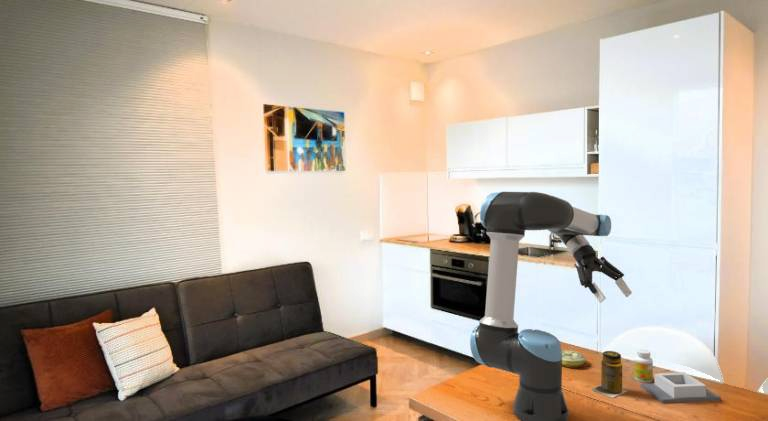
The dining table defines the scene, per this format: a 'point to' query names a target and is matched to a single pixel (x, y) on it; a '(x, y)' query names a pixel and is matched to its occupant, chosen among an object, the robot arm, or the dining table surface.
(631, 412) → the dining table surface
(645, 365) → the supplement bottle
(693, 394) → the socket plate
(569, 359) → the decorated donut
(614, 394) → the condiment
